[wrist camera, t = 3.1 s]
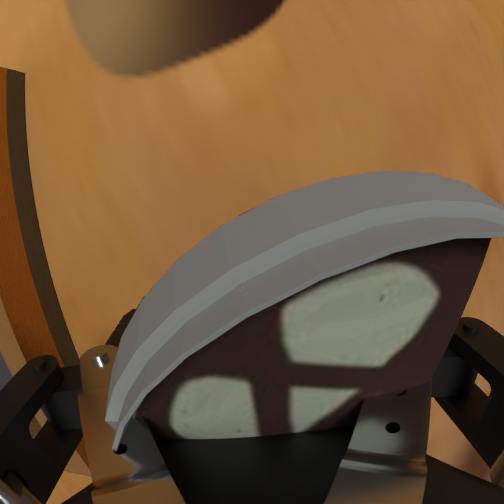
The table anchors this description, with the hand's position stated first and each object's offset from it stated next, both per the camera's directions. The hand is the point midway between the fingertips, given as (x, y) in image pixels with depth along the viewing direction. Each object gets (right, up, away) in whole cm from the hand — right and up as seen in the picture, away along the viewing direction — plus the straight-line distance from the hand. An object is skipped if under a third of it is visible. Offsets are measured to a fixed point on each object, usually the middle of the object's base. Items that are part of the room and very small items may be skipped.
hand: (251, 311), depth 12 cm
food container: (0, +1, +2) cm, 2 cm away
